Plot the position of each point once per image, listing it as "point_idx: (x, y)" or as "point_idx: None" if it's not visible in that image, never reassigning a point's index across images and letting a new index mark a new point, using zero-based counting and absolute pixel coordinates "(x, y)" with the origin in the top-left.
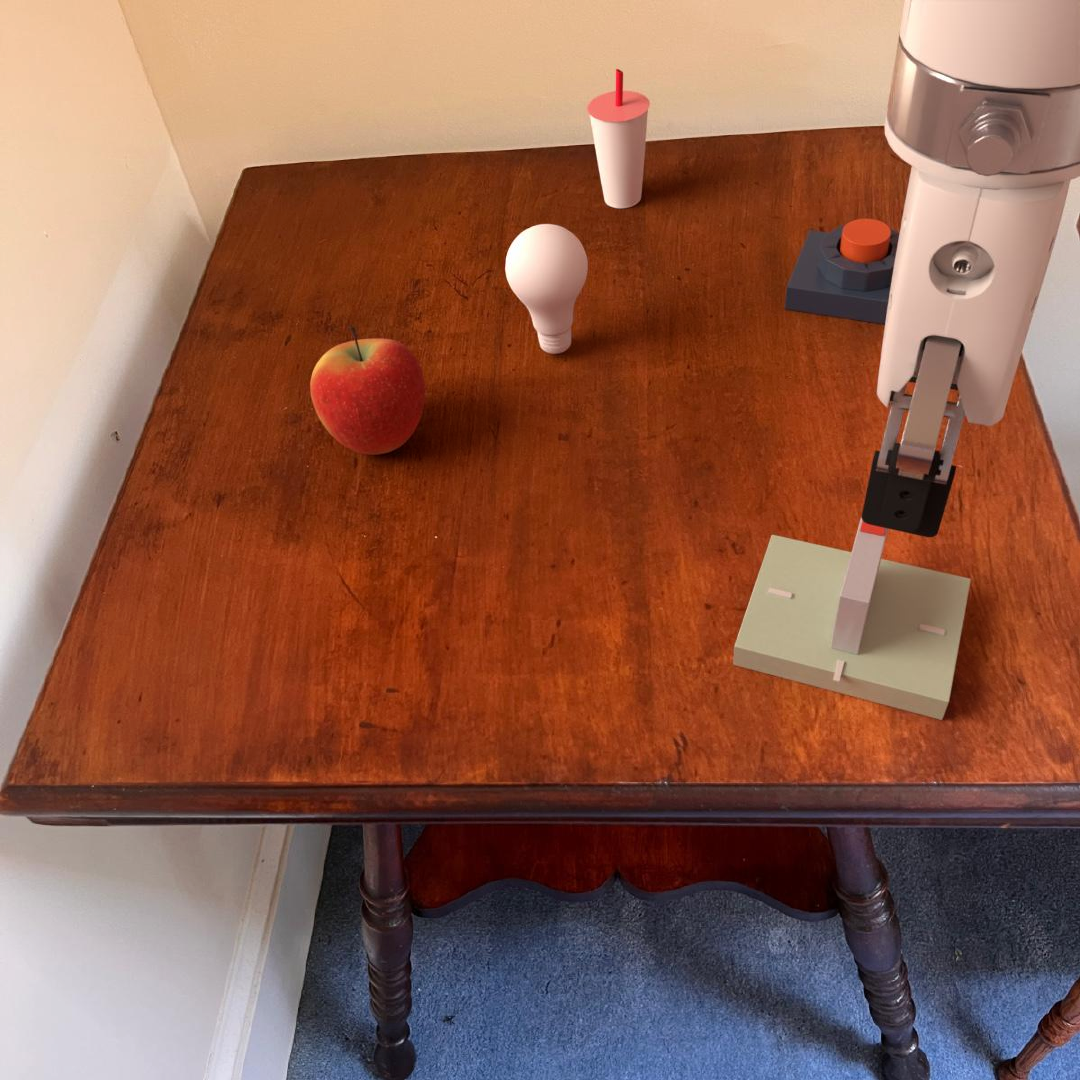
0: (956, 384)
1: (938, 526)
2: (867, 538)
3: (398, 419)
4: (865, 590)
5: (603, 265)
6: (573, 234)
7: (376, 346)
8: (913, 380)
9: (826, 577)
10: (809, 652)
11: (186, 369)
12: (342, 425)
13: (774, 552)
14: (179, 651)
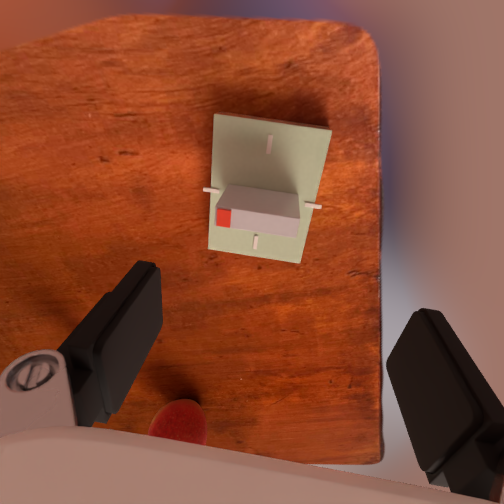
0: (157, 282)
1: (448, 324)
2: (235, 221)
3: (192, 424)
4: (288, 221)
5: (20, 337)
6: None
7: None
8: (161, 318)
9: None
10: (299, 223)
11: None
12: (205, 442)
13: (222, 246)
14: (318, 439)
